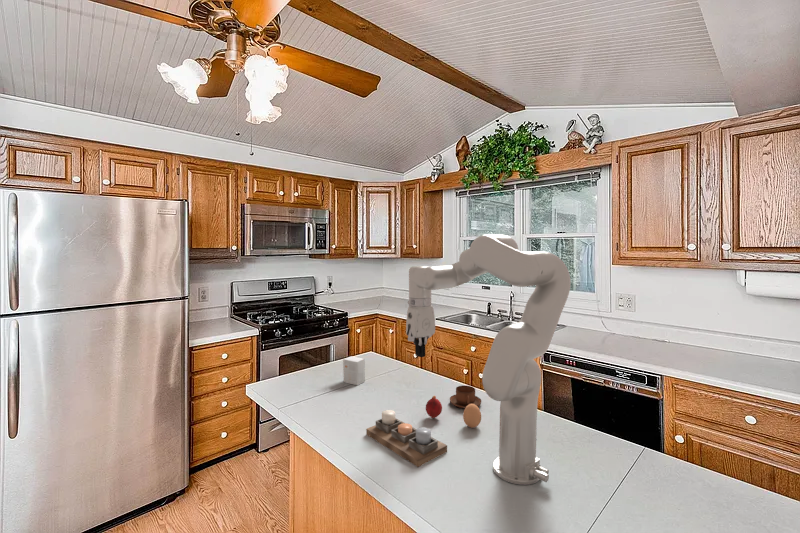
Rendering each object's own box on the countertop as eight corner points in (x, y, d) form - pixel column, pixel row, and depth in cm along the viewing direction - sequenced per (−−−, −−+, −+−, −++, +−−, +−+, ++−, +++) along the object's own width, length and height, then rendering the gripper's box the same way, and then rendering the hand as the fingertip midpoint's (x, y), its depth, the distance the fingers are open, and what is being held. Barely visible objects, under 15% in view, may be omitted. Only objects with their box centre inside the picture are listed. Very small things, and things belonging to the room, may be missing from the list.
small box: (365, 381, 172) (365, 358, 172) (357, 385, 168) (357, 361, 167) (351, 378, 177) (351, 355, 176) (343, 382, 172) (343, 358, 171)
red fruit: (441, 422, 133) (441, 400, 133) (424, 421, 135) (424, 398, 134) (442, 415, 139) (442, 393, 139) (426, 413, 140) (426, 392, 140)
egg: (481, 432, 127) (481, 408, 126) (462, 430, 128) (462, 407, 127) (481, 423, 133) (481, 401, 132) (463, 422, 134) (463, 399, 133)
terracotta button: (415, 436, 119) (415, 426, 119) (404, 441, 117) (404, 431, 116) (405, 431, 123) (405, 421, 123) (395, 435, 120) (395, 426, 120)
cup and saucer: (487, 408, 145) (487, 392, 145) (459, 413, 141) (459, 397, 141) (470, 396, 157) (470, 381, 156) (444, 401, 152) (444, 385, 152)
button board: (447, 451, 115) (447, 438, 114) (417, 467, 107) (417, 453, 107) (394, 423, 133) (394, 412, 133) (366, 434, 125) (366, 422, 125)
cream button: (398, 422, 125) (398, 413, 125) (387, 426, 123) (387, 417, 122) (389, 417, 129) (389, 408, 129) (379, 421, 126) (379, 412, 126)
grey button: (433, 441, 113) (433, 431, 113) (423, 446, 110) (423, 436, 110) (423, 435, 117) (423, 426, 116) (412, 440, 114) (412, 430, 114)
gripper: (412, 306, 123) (412, 363, 124) (443, 301, 133) (443, 354, 134) (396, 303, 128) (396, 358, 129) (427, 299, 139) (427, 349, 139)
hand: (420, 356), depth 132 cm, fingers closed
